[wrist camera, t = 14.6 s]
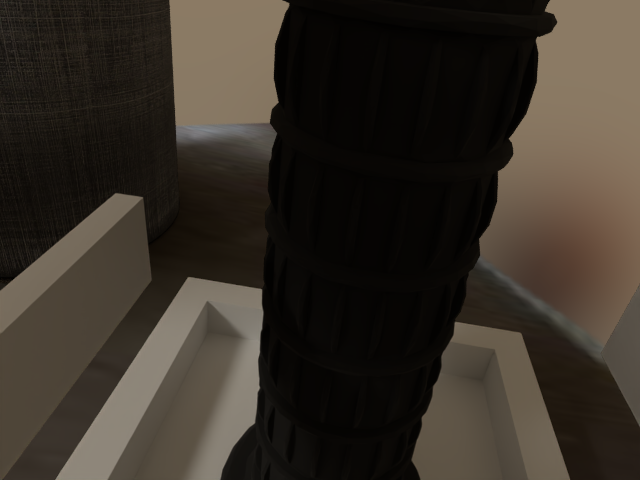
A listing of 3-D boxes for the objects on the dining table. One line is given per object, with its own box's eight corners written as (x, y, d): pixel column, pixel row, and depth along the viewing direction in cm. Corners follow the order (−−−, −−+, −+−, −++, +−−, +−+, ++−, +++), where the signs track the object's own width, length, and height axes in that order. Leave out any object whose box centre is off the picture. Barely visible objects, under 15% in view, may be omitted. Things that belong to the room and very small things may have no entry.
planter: (-154, 295, 32) (-337, -52, 22) (-42, 165, 50) (-113, -60, 39) (186, 269, 38) (170, -9, 28) (177, 162, 56) (166, -32, 46)
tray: (-71, 769, 15) (-112, 734, 13) (190, 316, 34) (188, 276, 32) (656, 948, 13) (723, 937, 12) (504, 371, 32) (521, 332, 30)
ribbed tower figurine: (448, 618, 19) (409, 411, 28) (1026, -422, 5) (591, -191, 14) (195, 604, 18) (236, 397, 27) (110, -576, 5) (247, -239, 13)
